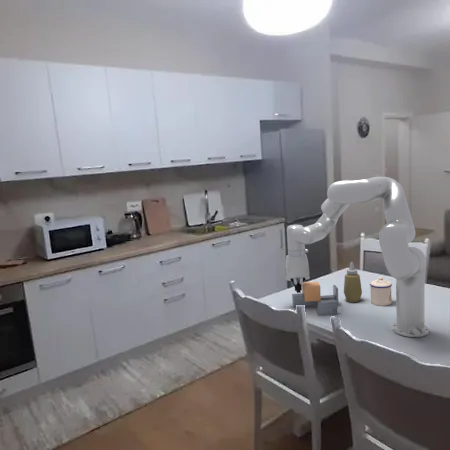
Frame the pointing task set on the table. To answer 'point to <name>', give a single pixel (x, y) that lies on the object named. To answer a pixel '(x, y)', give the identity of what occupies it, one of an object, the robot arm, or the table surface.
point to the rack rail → (299, 300)
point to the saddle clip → (311, 291)
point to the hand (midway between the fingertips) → (298, 291)
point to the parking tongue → (327, 307)
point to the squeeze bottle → (352, 284)
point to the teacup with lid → (381, 292)
